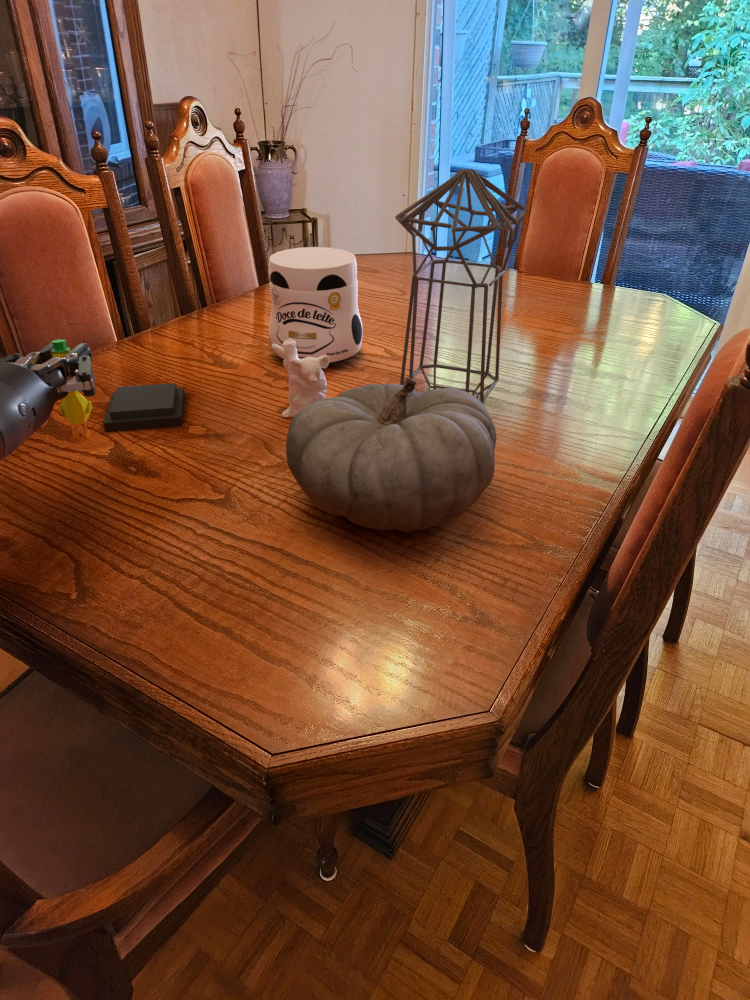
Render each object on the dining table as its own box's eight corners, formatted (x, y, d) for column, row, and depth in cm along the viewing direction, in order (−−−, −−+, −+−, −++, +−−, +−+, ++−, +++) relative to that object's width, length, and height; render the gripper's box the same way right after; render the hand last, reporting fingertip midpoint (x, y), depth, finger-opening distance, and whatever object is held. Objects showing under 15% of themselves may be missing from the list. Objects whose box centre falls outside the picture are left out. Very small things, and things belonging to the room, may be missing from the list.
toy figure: (91, 447, 80) (66, 352, 74) (60, 450, 80) (32, 354, 73) (100, 422, 86) (78, 332, 79) (71, 424, 85) (46, 334, 79)
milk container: (287, 380, 116) (279, 275, 106) (259, 346, 129) (250, 250, 119) (377, 365, 122) (378, 264, 112) (342, 334, 135) (340, 242, 125)
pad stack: (106, 437, 98) (101, 415, 96) (116, 405, 107) (111, 385, 105) (183, 431, 100) (179, 409, 98) (186, 400, 109) (182, 380, 107)
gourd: (496, 565, 70) (485, 409, 62) (275, 568, 76) (241, 425, 68) (502, 467, 92) (494, 342, 84) (329, 475, 98) (308, 359, 90)
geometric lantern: (385, 423, 103) (390, 173, 83) (418, 384, 115) (428, 158, 95) (485, 442, 98) (515, 181, 78) (508, 399, 110) (538, 165, 91)
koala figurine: (272, 422, 103) (266, 348, 96) (282, 403, 108) (277, 332, 102) (326, 425, 102) (323, 351, 95) (333, 406, 107) (331, 334, 101)
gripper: (-62, 444, 68) (24, 377, 82) (72, 450, 67) (135, 381, 81) (-90, 375, 64) (6, 317, 78) (52, 381, 63) (123, 321, 77)
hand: (72, 350), depth 80 cm, fingers closed on toy figure, 3 cm apart
